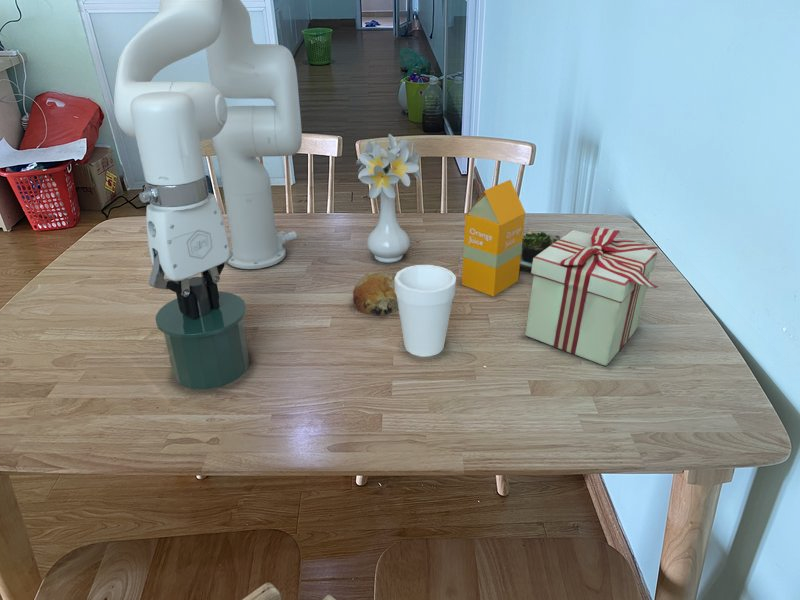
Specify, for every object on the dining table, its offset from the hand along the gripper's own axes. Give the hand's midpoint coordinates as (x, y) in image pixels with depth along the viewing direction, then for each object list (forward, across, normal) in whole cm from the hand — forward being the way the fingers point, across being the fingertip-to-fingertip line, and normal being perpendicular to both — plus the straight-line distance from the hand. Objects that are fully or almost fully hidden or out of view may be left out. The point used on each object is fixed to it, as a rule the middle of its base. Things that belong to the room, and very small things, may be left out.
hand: (200, 310), depth 89 cm
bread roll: (+11, +32, -8) cm, 34 cm away
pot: (+11, 0, 0) cm, 11 cm away
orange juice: (+11, +52, -19) cm, 56 cm away
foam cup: (+11, +25, -23) cm, 35 cm away
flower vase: (+11, +49, +4) cm, 50 cm away
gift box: (+11, +46, -42) cm, 64 cm away
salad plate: (+11, +69, -22) cm, 73 cm away
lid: (+1, 0, 0) cm, 1 cm away
